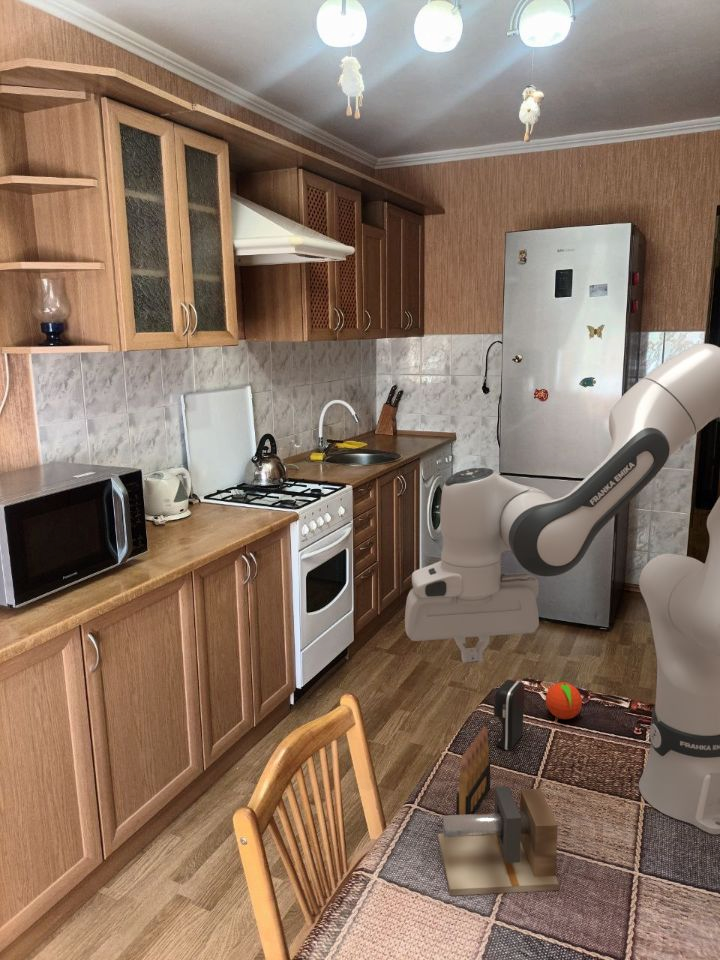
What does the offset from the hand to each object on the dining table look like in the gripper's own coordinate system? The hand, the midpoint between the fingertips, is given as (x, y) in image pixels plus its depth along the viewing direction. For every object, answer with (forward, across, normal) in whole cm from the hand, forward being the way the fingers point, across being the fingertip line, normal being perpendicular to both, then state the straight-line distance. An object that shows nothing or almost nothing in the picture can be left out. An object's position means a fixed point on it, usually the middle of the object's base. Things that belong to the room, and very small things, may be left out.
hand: (471, 661), depth 111 cm
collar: (+22, -2, +13) cm, 26 cm away
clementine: (+26, -24, -25) cm, 43 cm away
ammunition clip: (+26, 0, 0) cm, 26 cm away
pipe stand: (+25, 0, +13) cm, 28 cm away
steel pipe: (+20, 0, +13) cm, 24 cm away
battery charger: (+26, -10, -18) cm, 33 cm away
